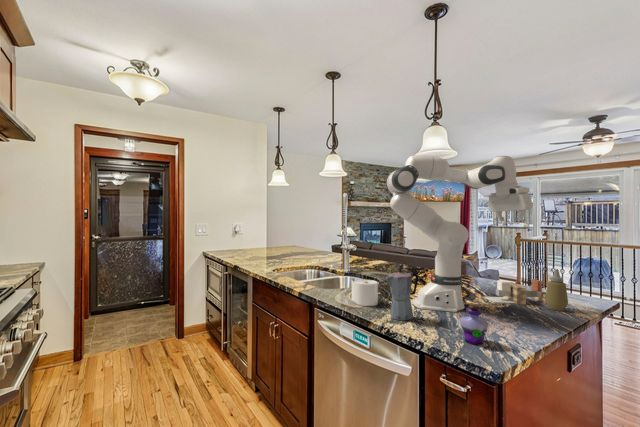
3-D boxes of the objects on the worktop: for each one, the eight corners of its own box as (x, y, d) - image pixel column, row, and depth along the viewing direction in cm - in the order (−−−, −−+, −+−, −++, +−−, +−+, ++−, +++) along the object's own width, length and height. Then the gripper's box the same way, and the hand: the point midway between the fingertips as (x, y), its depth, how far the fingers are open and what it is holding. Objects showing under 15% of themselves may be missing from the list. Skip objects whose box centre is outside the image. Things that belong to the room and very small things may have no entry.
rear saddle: (545, 304, 142) (545, 295, 142) (534, 299, 150) (534, 291, 150) (554, 304, 142) (554, 295, 142) (543, 299, 149) (543, 291, 150)
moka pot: (379, 315, 123) (380, 267, 123) (409, 311, 129) (409, 265, 129) (394, 323, 114) (394, 271, 115) (425, 318, 121) (425, 268, 121)
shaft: (499, 296, 145) (499, 280, 145) (495, 294, 150) (495, 278, 150) (543, 297, 144) (543, 281, 144) (537, 295, 148) (537, 279, 148)
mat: (494, 303, 143) (494, 302, 143) (484, 297, 153) (484, 296, 153) (515, 303, 142) (515, 302, 142) (504, 297, 152) (504, 297, 152)
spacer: (501, 290, 145) (501, 282, 145) (497, 288, 150) (497, 280, 150) (510, 290, 145) (510, 282, 145) (505, 288, 149) (505, 280, 149)
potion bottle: (470, 348, 93) (470, 309, 93) (453, 337, 102) (454, 301, 102) (495, 346, 95) (495, 308, 95) (476, 335, 103) (476, 301, 103)
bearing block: (517, 304, 141) (517, 287, 141) (503, 297, 153) (503, 281, 153) (525, 304, 141) (526, 287, 141) (511, 297, 153) (511, 282, 153)
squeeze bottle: (572, 312, 129) (572, 271, 129) (551, 311, 131) (551, 270, 131) (561, 307, 137) (561, 268, 137) (541, 306, 139) (541, 267, 139)
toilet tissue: (379, 306, 135) (379, 284, 135) (352, 306, 136) (353, 284, 136) (375, 300, 146) (375, 279, 146) (351, 299, 146) (351, 279, 147)
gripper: (483, 194, 147) (486, 222, 146) (521, 188, 127) (525, 221, 127) (493, 193, 148) (497, 220, 148) (532, 187, 129) (536, 219, 128)
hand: (510, 220), depth 137 cm, fingers open, 8 cm apart
